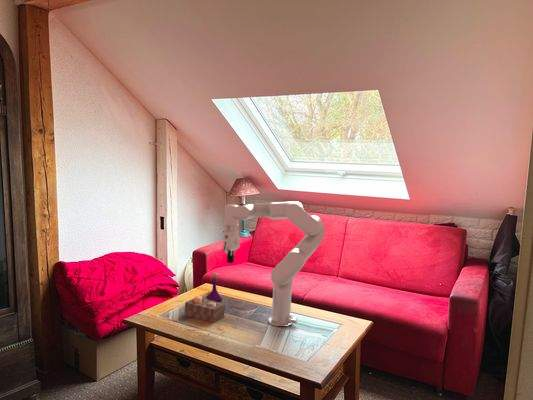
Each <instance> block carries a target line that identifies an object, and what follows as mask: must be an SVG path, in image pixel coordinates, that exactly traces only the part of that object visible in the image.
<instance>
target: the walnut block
mask: <svg viewBox="0 0 533 400" xmlns="http://www.w3.org/2000/svg"><path fill="white" fill-rule="evenodd" d="M211 302H214V303H216V306H215V307H210V306H208V304H209V303H211ZM225 308H226V303H223V302H220V303H219V302H215V301H211V300H208V299H207V298H202V303H200V304H198V303H194V298H192V299H190V300H188V301H185V302H184V316H186V317H189V318H193V319H196V320H201V321H205V322H208V323H211V324H214V323H216V322H217V321H219V320H222V319H223V318H225Z"/></svg>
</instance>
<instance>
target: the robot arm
mask: <svg viewBox="0 0 533 400" xmlns="http://www.w3.org/2000/svg"><path fill="white" fill-rule="evenodd" d="M253 218H254V219H255V218H268V219H270V220H285V219H288V220H289V221H290V222H291V223H292V224H293V225H294V226H296V227H297V228H298V229H299V230H301V231H302V232H303V233H304V234H305V235H304V237H303V238H301V240H300V241H299V242H298V243H297V244H296V245H295V246H294V248H292V249H291V250H289V251H288V253H287V254H286V255H285V256H284V258H283V259H281V261H280V262H279V263H277V264H276V266H275V267H274V268H273V269H272V270H271V273H270V279H271V281H272V283H273V289H272V303H271V305H272V306H271V316H270V317H269V318H268V320H267V321H268V323H269V324H270V325H271V326H274V325H275V326H274V327H278V326H285V325H288V323H291V322H292V324H298V318H297V317H293V314H292V313H291V310H292V309H291V308H292V293H293V292H292V291H293V283H294V282H293V281H294V277H295V276H296V275H297V274H298V272H300V271H301V270H302V268H303V267H304V265H305V264H306V262H307V260H308V259H309V258H310V257H311V256H312V255H313V254H314V252H315V251H316V250H317V249H318V248H319V246H320V245H321V243H322V242H323V240H324V237H325V226H324V225H325V224H324V222H323V220H322V218H321V217H319V216H317V215H310V214H309V212H307V211H306V210H304V206H303V204H302V203H301V202H299V201H296V200H295V201H279V202H278V201H277V202H264V203H247V204H244V205H238V204H231V203H229V204H226V205H225V206H224V223H223V225H224V226H223V229H224V230H223V231H224V233H223V239H222V240H223V241H222V249H223V250H224V254H226V263H229V264H233V263H234V262H235V254H236V253H235V252H236V251H237V250H238V249H240V231H239V228H240V227H239V225H240V221H249V219H253Z"/></svg>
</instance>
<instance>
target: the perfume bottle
mask: <svg viewBox="0 0 533 400" xmlns="http://www.w3.org/2000/svg"><path fill="white" fill-rule="evenodd" d="M212 275H213V276H212V277H211V280H210V283H211V284H212V289H211V291H210V292H209V293H208V294H207V295H206V297H205V299H207V300H211V301H215V302H219V303H222V301H223V298H222V296H221V295H220V293H219V292H218V289H217V283H218V282H219V280H218V279H217V278H218V276H219V273H217V272H214V273H212Z"/></svg>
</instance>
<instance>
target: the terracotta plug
mask: <svg viewBox="0 0 533 400" xmlns="http://www.w3.org/2000/svg"><path fill="white" fill-rule="evenodd" d="M193 299H194V303H198V304H200V303H202V299H203V297H202V296H200V295H196V296H194V297H193Z"/></svg>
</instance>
